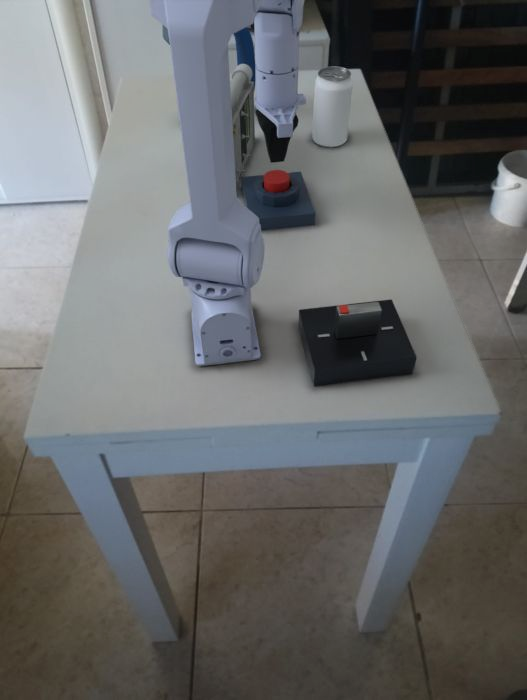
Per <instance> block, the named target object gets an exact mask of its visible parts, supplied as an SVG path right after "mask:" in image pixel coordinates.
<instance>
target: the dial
mask: <svg viewBox="0 0 527 700" xmlns="http://www.w3.org/2000/svg"><path fill="white" fill-rule="evenodd" d="M371 302H372V301H371ZM362 303H363V302H362ZM353 304H354V303H353ZM338 305H339V306H337V305H336V306H337V307H336V316H335V325H334V332H335V335H336V338H337V339H341V338H349V337H358V336H366V335H374V334H377V333H378V328H379V323H380V317H381V312H382V309H381V307H380V305H379V302H372V303H363V304H354V305H346V304H338Z"/></svg>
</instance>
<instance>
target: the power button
mask: <svg viewBox="0 0 527 700" xmlns="http://www.w3.org/2000/svg"><path fill="white" fill-rule="evenodd" d="M288 173H289V172H287V171H285V170H282V169H272V170H269V171H267V172H266V173H265V174H263V175H264V188H265V190H267V191H269V192H274V193H279V192H284V191H286V190H288V189H289V187H290V176H289V174H288Z"/></svg>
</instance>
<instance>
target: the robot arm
mask: <svg viewBox="0 0 527 700" xmlns="http://www.w3.org/2000/svg"><path fill="white" fill-rule="evenodd" d="M305 1H306V0H149V8H150V14H151V16H152V17H153V18H154V19H155V20H156V21H158V22H159V23H160V24H161V25H162V24H163V25H164V26H165V27H166V28H167V29H168V35H169V42H170V45H169V49H170V56H171V58H170V59H171V66H172V71H173V80H174V88H175V95H176V104H177V111H178V119H179V127H180V133H181V142H182V151H183V157H184V165H185V174H186V181H187V190H188V197H189V201H188V202H187V203H185V204H184V205H182V206H181V207H179V208H178V209H177V210H176V212H175V213H174V214H173V217H172V218H171V221H170V223H169V225H168V227H167V235H168V246H167V263H168V267H169V269H170V270H171V273H172V274H173V276H174V277H176V278H182V279H181V280H182V285H183V287H187V288H188V289H189V295H190V301H191V307H192V311H191V313H190V314H191V315H190V316H191V327H192V328H191V329H192V339H193V350H194V351H193V352H194V361H195V362H194V363H195V365H196V366H197V367H205V366H212V365H213V366H214V365H222V364H231V363H238V362H247V361H254V360H255V361H256V360H259V359H261V357H262V355H261V349H260V343H259V337H258V333H257V327H256V322H255V317H254V311H253V306H252V288H253V287H254V286H255V285H257V283H258V282H259V280H260V278H261V275H262V271H263V268H264V267H263V266H264V261H265V249H266V247H265V240H264V238H263V234H262V230H261V225H260V223H259V218H258V217H257V216H256V215H255V214H254V213H253V212H252V211H250V210H249V209H248V208H247V207H245V204H243V203H242V202H241V201H239V200H238V197H237V195H238V194H237V184H236V177H235V159H234V142H233V125H232V108H231V91H230V82H231V73H230V59H229V58H230V57H229V43H230V40H231V37H232V36H233V35H234V33H236V32H237V31H239V30H241V29H243V28H245V27H247V26H249V25H250V26H251V25H253V28H254V31H253V32H254V52H255V77H256V80H255V96H254V107H255V108H256V110H255V115H256V118H257V122H258V125H259V127H260V129H261V131H262V132H263V135H264V139H265V140H264V141H265V146H266V151H267V154H268V158H269V162H270V163H282V162H285V159H286V157H287V152H288V149H289V144H290V140H291V139H292V137H294V132H295V130H296V129H297V128H298V125H299V120H300V119H299V117H298V115H297V111H298V108H299V106H304V105H306V104H307V98H306V95H305V94H304V93H299V63H300V62H299V59H300V29H301V27H302V26H303V19H304V18H303V17H304V6H305Z"/></svg>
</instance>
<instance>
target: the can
mask: <svg viewBox="0 0 527 700" xmlns="http://www.w3.org/2000/svg"><path fill="white" fill-rule="evenodd" d="M351 76H352V72H351V71H350V70H349V69H348V68H346V67H342V66H337V65H335V66H332V65H331V66H324V67H322V68H320V69H319V70H318V71H317V77H316V78H315V80H314V93H313V111H312V131H311V132H312V133H311V139H312V140H313V142H314V143H315V145H318V146H320V147H322V148H329V149H330V148H332V149H333V148H338V147H341V146H343V145H344V144H345V143H346V142H347V140H348V134H349V125H350V115H351V107H352V106H351V104H352V96H353V95H352V94H353V79H352V77H351Z"/></svg>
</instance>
